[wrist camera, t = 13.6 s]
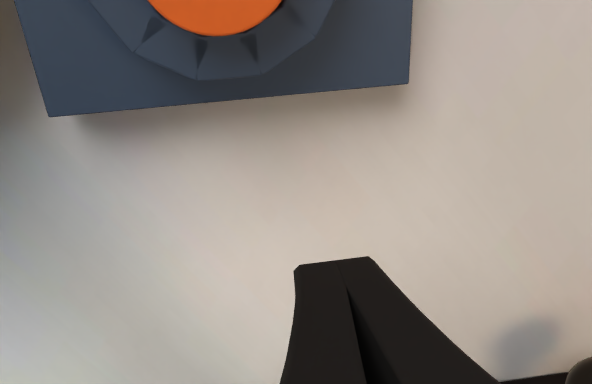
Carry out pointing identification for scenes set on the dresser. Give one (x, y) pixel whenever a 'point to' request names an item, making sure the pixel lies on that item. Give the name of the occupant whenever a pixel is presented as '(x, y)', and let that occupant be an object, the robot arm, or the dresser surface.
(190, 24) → the button
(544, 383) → the bracket
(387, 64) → the control block
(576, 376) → the lever
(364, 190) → the dresser surface
